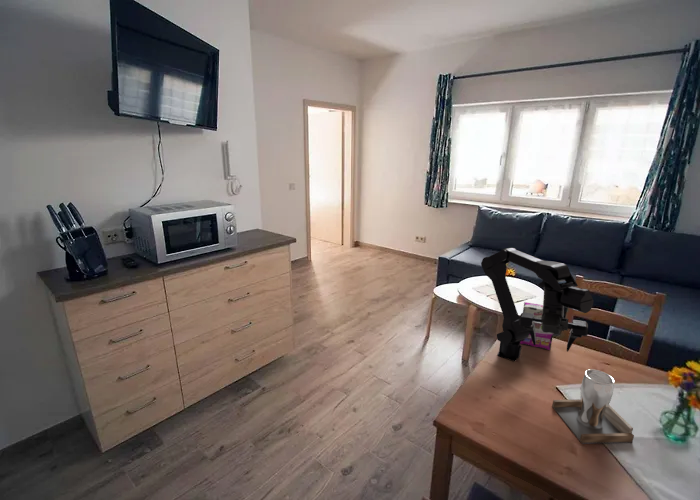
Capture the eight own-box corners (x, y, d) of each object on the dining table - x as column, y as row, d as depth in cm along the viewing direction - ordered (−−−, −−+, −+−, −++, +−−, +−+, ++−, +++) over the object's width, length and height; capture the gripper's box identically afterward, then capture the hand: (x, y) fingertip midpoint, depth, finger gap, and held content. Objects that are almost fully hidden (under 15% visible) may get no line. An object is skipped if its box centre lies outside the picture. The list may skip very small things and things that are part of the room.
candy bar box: (550, 344, 134) (556, 306, 129) (550, 350, 129) (557, 312, 125) (518, 337, 139) (524, 301, 134) (518, 343, 134) (523, 306, 130)
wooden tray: (581, 443, 89) (584, 431, 88) (552, 406, 102) (554, 395, 100) (632, 442, 89) (635, 430, 88) (596, 405, 102) (598, 394, 101)
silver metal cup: (585, 409, 100) (596, 366, 95) (610, 427, 93) (622, 381, 89) (568, 415, 97) (578, 371, 93) (592, 434, 91) (603, 387, 87)
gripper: (517, 306, 106) (515, 352, 109) (590, 316, 95) (585, 366, 98) (522, 295, 115) (520, 338, 118) (589, 304, 105) (585, 350, 107)
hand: (550, 347), depth 110 cm, fingers open, 9 cm apart
